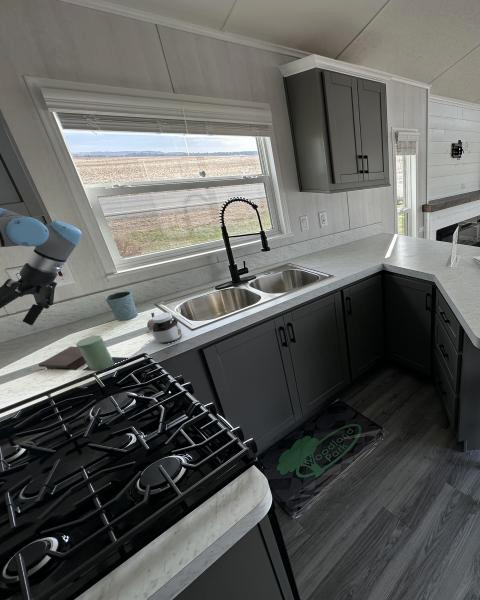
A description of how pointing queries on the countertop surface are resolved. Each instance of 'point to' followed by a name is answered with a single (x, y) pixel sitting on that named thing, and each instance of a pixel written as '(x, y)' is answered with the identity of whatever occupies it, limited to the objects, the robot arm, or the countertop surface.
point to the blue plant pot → (122, 305)
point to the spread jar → (165, 328)
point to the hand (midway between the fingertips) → (5, 325)
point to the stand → (65, 360)
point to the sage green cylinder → (95, 353)
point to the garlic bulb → (150, 322)
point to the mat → (115, 359)
